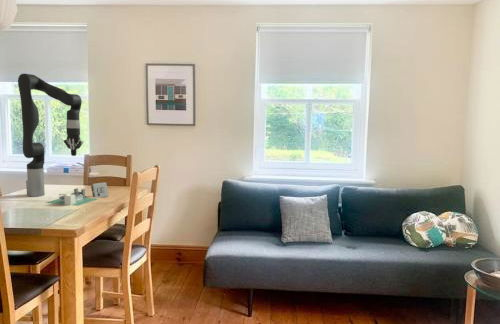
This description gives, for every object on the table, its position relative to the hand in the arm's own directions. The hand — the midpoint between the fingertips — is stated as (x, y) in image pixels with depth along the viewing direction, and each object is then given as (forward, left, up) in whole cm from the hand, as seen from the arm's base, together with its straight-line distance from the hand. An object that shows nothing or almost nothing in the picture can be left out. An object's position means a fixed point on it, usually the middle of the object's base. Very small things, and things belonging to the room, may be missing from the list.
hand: (73, 155), depth 245 cm
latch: (+10, -19, -25) cm, 33 cm away
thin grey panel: (+8, -13, -22) cm, 27 cm away
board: (+8, -12, -26) cm, 30 cm away
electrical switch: (+13, +7, -27) cm, 30 cm away
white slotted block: (+8, -12, -25) cm, 29 cm away
